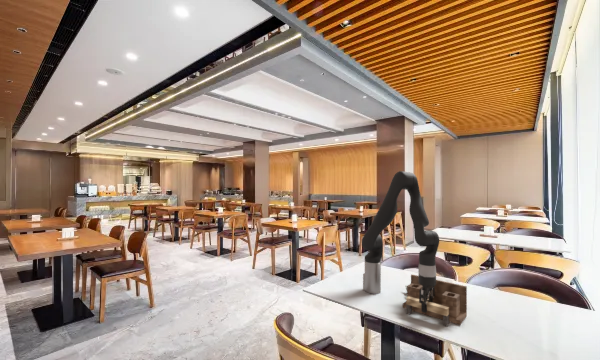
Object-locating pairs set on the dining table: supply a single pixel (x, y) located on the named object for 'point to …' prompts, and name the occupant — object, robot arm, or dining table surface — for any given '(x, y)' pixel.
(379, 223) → the robot arm
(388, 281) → the dining table surface
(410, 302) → the oak rail
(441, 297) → the wooden pen holder stand
